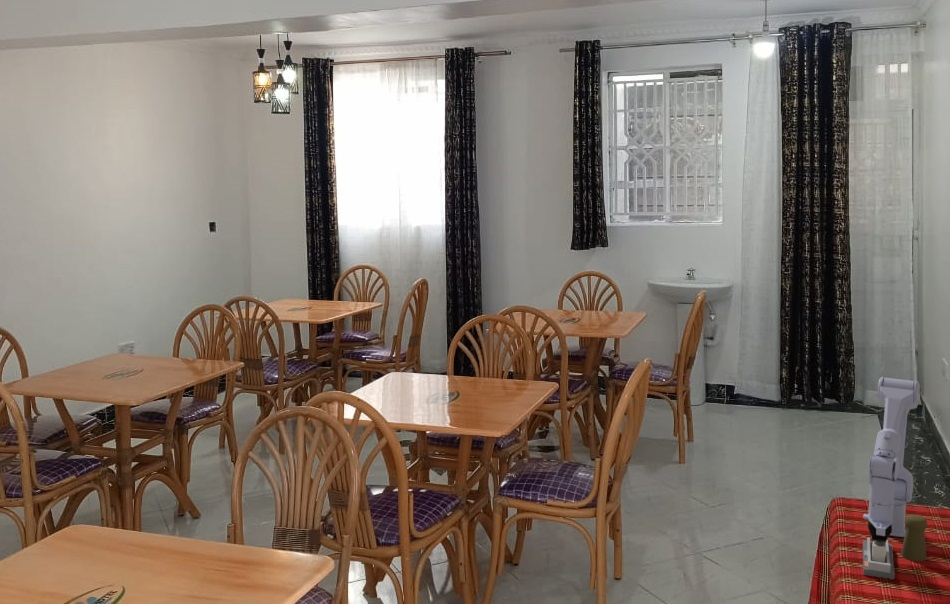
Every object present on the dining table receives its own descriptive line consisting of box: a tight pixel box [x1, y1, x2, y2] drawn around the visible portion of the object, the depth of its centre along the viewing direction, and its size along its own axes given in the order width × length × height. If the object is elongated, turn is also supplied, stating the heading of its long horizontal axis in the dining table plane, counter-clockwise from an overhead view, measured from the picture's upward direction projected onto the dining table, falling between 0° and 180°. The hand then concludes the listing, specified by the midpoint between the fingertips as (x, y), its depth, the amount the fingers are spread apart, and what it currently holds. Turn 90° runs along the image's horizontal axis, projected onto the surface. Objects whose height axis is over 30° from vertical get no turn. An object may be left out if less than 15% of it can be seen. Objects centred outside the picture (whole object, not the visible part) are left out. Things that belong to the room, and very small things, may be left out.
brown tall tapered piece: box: [900, 514, 928, 562], centre depth 224 cm, size 6×6×11 cm
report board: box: [862, 537, 895, 580], centre depth 222 cm, size 18×7×4 cm, turn 156°
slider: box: [872, 539, 886, 562], centre depth 220 cm, size 3×3×5 cm
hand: (878, 550), depth 223 cm, fingers closed
